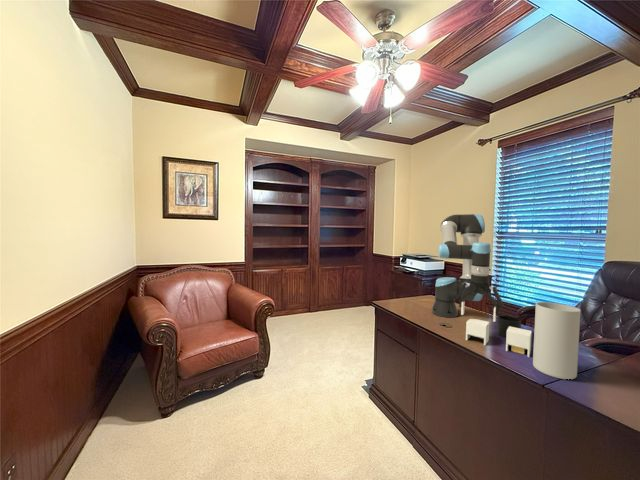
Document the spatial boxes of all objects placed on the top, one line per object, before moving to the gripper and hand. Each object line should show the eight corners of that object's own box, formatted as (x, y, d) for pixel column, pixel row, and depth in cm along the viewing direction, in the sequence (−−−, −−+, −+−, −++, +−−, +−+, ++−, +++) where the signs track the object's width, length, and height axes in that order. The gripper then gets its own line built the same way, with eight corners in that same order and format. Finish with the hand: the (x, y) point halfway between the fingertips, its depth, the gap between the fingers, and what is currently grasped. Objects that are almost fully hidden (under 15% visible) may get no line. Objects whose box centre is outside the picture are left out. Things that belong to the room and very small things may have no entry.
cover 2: (508, 345, 122) (509, 326, 122) (530, 350, 117) (531, 330, 116) (505, 350, 116) (506, 330, 116) (529, 357, 111) (530, 336, 110)
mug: (529, 338, 130) (529, 320, 130) (508, 340, 128) (509, 321, 128) (511, 331, 140) (512, 314, 139) (492, 332, 137) (493, 315, 137)
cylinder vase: (524, 365, 104) (527, 303, 103) (546, 361, 107) (549, 301, 107) (562, 383, 92) (565, 312, 91) (585, 377, 96) (588, 310, 95)
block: (512, 347, 120) (513, 338, 120) (525, 351, 117) (525, 341, 117) (511, 351, 116) (511, 341, 116) (524, 354, 113) (524, 344, 113)
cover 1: (469, 335, 133) (470, 317, 133) (488, 340, 128) (489, 321, 127) (465, 340, 127) (466, 321, 127) (485, 345, 122) (486, 326, 121)
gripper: (449, 272, 132) (448, 313, 133) (510, 279, 115) (508, 326, 116) (454, 270, 137) (452, 309, 139) (512, 277, 120) (510, 322, 122)
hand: (478, 317), depth 127 cm, fingers open, 13 cm apart
